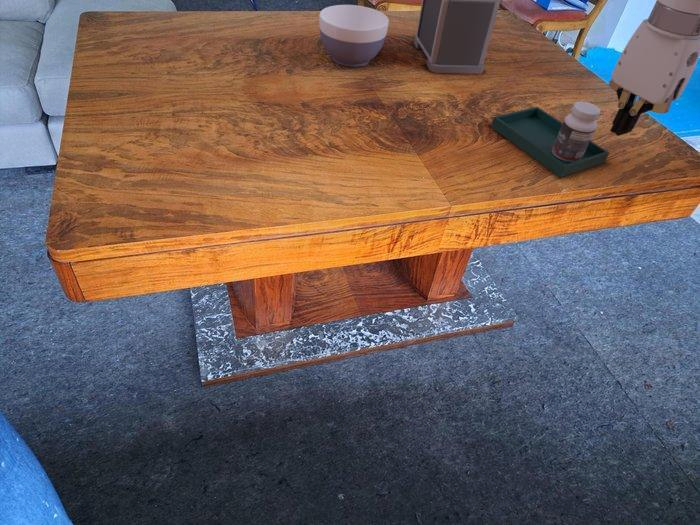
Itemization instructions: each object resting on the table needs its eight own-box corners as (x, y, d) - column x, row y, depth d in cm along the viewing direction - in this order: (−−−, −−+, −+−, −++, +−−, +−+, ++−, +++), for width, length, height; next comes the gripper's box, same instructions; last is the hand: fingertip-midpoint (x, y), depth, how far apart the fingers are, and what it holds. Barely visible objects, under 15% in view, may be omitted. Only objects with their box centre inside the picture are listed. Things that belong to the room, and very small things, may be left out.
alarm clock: (483, 73, 122) (506, -9, 109) (431, 72, 120) (448, -12, 107) (460, 43, 135) (478, -34, 122) (412, 41, 133) (426, -37, 120)
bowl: (394, 57, 125) (400, 16, 118) (364, 79, 114) (369, 36, 108) (338, 40, 129) (340, -1, 123) (304, 60, 119) (305, 17, 112)
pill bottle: (549, 145, 100) (569, 97, 93) (578, 150, 99) (600, 102, 92) (552, 160, 95) (573, 112, 88) (583, 166, 95) (606, 117, 88)
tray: (604, 163, 97) (609, 152, 96) (560, 177, 92) (565, 166, 91) (533, 116, 109) (536, 106, 107) (490, 127, 104) (493, 116, 102)
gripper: (740, 36, 71) (670, 149, 84) (649, 0, 79) (599, 108, 92) (710, 42, 68) (642, 159, 80) (619, 4, 76) (571, 115, 89)
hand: (619, 131), depth 86 cm, fingers closed
